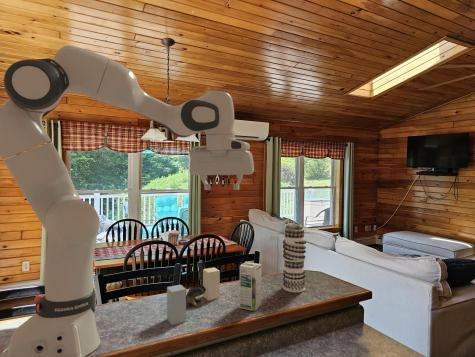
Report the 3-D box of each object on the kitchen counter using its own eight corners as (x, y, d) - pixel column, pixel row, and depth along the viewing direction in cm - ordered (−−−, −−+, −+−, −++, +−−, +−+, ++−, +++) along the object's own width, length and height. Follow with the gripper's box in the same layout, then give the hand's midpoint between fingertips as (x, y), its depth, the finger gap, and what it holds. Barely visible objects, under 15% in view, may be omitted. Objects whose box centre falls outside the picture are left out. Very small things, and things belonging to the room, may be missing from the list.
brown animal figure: (199, 309, 104) (210, 294, 112) (187, 290, 104) (199, 277, 113) (183, 317, 107) (195, 302, 115) (171, 299, 107) (184, 285, 116)
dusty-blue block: (171, 325, 96) (171, 291, 95) (167, 319, 100) (167, 287, 99) (186, 321, 98) (186, 289, 98) (180, 315, 102) (180, 284, 102)
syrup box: (238, 308, 107) (239, 265, 107) (246, 302, 112) (246, 261, 112) (254, 312, 105) (254, 267, 104) (261, 305, 110) (261, 263, 109)
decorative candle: (306, 285, 129) (307, 223, 128) (305, 293, 120) (305, 227, 119) (284, 283, 131) (284, 222, 131) (280, 291, 123) (281, 226, 122)
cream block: (208, 300, 114) (208, 272, 113) (203, 296, 118) (203, 269, 117) (219, 298, 116) (219, 270, 116) (214, 293, 120) (214, 267, 120)
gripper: (185, 145, 99) (186, 190, 99) (250, 143, 93) (251, 190, 94) (193, 146, 105) (194, 188, 105) (254, 144, 99) (255, 188, 100)
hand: (221, 189), depth 99 cm, fingers open, 8 cm apart
